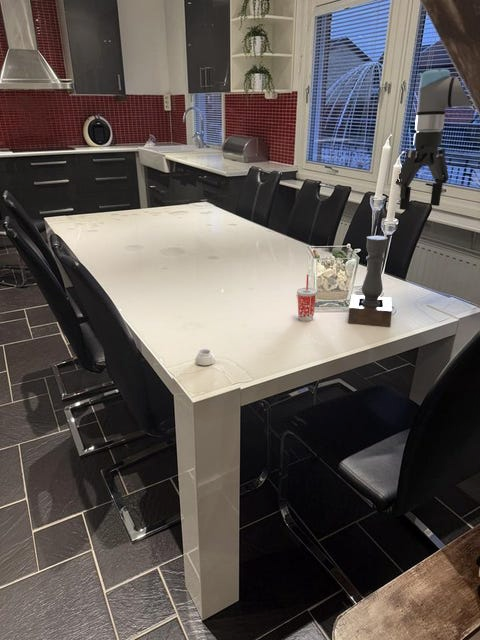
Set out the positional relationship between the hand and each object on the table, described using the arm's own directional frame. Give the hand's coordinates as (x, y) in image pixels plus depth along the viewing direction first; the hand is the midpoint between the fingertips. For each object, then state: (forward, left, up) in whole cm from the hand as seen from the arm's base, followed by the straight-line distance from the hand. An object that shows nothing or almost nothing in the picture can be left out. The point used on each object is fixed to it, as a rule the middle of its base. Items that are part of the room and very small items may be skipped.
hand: (419, 207), depth 140 cm
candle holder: (+8, +15, -32) cm, 37 cm away
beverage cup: (+25, +25, -32) cm, 48 cm away
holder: (+8, +15, -32) cm, 36 cm away
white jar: (+35, +65, -32) cm, 81 cm away
